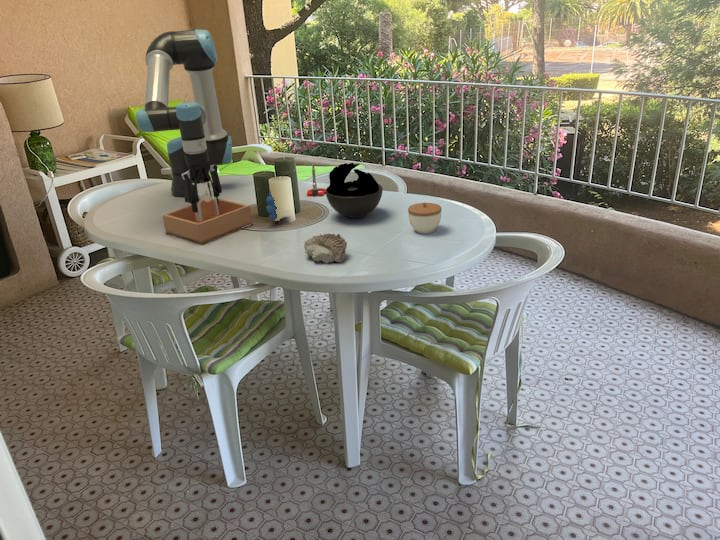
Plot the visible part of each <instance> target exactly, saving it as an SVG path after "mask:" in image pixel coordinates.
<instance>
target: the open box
mask: <svg viewBox="0 0 720 540" xmlns="http://www.w3.org/2000/svg"><path fill="white" fill-rule="evenodd" d="M218 202H219V205H218V210H219V215H216V217H215V218H212V219H209V220H206V221H204V222H201V223H200V221H197V220H196V217H195V212H193V211H192V206H191V204H190V205H187V206H185V207H182V208H178V209H175V210H173V211H170V212H166V213H164V214H162V215H161V216H162V220H163V225H164V229H165V234H166V235H168V236H172V237H174V236H175V238H177V239H178V238H179V239H181V240H184V241H188V242H192V243H195V244H199V245H202V246H203V245H205V244H208V243H210V242H213V241H215V240H218V239H220V238H223V237H226V236H228V235H230V234H233V233H235V232H237V230H238V231H240V230H242V229H241V228H242V227H244V226H246V225H249V224H251V223H252V224H253V219H252V212H251V205H248V204H243V203H239V202H234V201H230V200H225V199H221V198H218ZM239 229H240V230H239Z"/></svg>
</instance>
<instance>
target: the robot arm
mask: <svg viewBox="0 0 720 540" xmlns="http://www.w3.org/2000/svg"><path fill="white" fill-rule="evenodd" d="M144 60H145V64H146V66H147V73H146V75H147V76H146V84H145V85H146V86H145V98H144V108H141V109H138V110H137V111H136V112H135V119H136V123H137V127H138V130H139V131H141V132H143V133H155V132H156V133H157V132H164V131H165V132H166V131H178V130H179V132H180V136H178V137H175V138H172V139H171V140H169V141H167V143H166V150H167V155H168V160H169V161H168V162H169V166H170V171H171V175H172V177H171V178H172V180H171V187H170V192H171V195H172V196H173V197H177V198H178V197H179V198H181V197H182V198H184V202H185V203H188V204H190V205H191V206H192V211H193V212H195V217H196V220H197V221H203V219H202V214H201V209H200V203H198V202H197V197H198V195H197V188H196V183H200V180H201V179H203V180H204V181H205V182H208V181H210V179H211V182H212V186H213V190H214V210H215V215H219V210H218V205H219V202H218V199H219V197H220V196H221V194H222V193H223V190H222V186H221V181H220V178H219V173H218V166H223V165H230V164H231V163H232V161H233V140H232V136H231V135H228V132H227V131H226V130H225V129H223V124H222V119H221V114H220V108H219V103H218V97H217V92H216V86H215V81H214V76H213V70H214V68H216V65H215V63H217V62H218V61H219V59H218V52H217V49H216V45H215V42H214V38H213V36H212V34H211V33H210V31H208V30H207V29H196V28H195V29H187V30H185V29H184V30H176V31H175V30H173V31H172V30H171V31H170V30H169V31H165V32H162V33H160V34H159V35H157V36H156V37H155V38H154V39H153V40H152V41H151V42H150V45H149V46H148V48H147V50H146V53H145V59H144ZM176 65H183V69H184V71H185V72H187V73H188V74H189V78H190V82H191V87H192V88H191V89H192V91H193V96H194V101H192V102H191V101H190V102H182V103H178V104H176V106H170V107H169V96H170V95H169V93H170V73H171V70H172V69H173V67H174V66H176ZM192 183H195V184H194V185H193V184H192Z"/></svg>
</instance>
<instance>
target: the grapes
mask: <svg viewBox="0 0 720 540" xmlns="http://www.w3.org/2000/svg"><path fill="white" fill-rule="evenodd" d="M271 191H272V190H271ZM271 191H269V193H268V195H269V196H267V197H266V199H265V201H266V203H267V206H266V207H265V209H266V212H267V213H269V214H268V217H269V219H271V220H272V221H275V219H276V218H277V214H276V211H275V210H276V209H277V207H276V206H275V205H274V204H275V203H274V201H275V200H274V198H273V197H272V195H271Z"/></svg>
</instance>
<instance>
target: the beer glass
mask: <svg viewBox="0 0 720 540" xmlns="http://www.w3.org/2000/svg"><path fill="white" fill-rule="evenodd" d="M211 181H212V178H211V179H210V181H208V182H205V181H204V180H203V179H201V180H200V183H196V188H197V195H198V197H197V202H198V203H200V209H201V214H202V219H203V221H200V223H201V222H204V221H206V220H209V219H212V218H215V217H216V215H215V210H214V190H213V186H212V183H213V182H211ZM192 184H193V185H194V184H195V183H192Z"/></svg>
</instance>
